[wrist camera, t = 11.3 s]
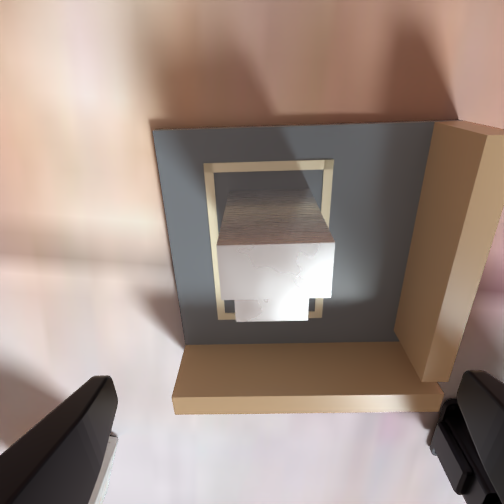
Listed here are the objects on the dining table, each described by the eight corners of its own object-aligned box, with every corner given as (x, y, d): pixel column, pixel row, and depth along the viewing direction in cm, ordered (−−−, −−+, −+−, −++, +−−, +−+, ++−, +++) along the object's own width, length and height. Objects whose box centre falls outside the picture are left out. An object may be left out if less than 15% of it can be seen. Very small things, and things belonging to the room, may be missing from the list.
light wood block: (304, 306, 23) (323, 392, 17) (237, 307, 23) (229, 393, 17) (309, 188, 19) (335, 242, 13) (229, 191, 19) (216, 245, 13)
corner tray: (459, 119, 18) (526, 133, 14) (406, 352, 25) (438, 411, 21) (154, 129, 18) (122, 146, 14) (189, 355, 26) (174, 414, 21)
